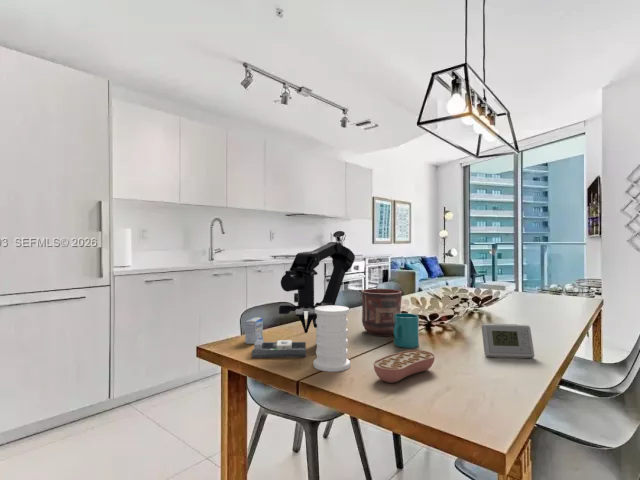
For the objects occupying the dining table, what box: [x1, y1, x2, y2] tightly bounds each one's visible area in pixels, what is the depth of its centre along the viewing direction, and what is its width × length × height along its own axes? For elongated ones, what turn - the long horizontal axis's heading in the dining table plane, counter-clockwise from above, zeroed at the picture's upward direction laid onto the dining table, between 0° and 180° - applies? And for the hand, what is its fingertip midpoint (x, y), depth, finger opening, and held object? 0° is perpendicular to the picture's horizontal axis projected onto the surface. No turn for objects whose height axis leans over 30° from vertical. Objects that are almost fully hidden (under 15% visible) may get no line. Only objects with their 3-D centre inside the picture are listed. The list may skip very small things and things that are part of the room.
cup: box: [393, 312, 420, 349], centre depth 140 cm, size 9×12×11 cm
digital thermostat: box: [481, 323, 535, 359], centre depth 128 cm, size 16×9×11 cm, turn 72°
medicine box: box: [244, 316, 264, 345], centre depth 146 cm, size 8×4×9 cm, turn 168°
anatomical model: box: [373, 349, 436, 384], centre depth 109 cm, size 23×10×5 cm, turn 131°
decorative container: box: [312, 305, 351, 373], centre depth 118 cm, size 12×12×18 cm
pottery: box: [361, 288, 403, 337], centre depth 161 cm, size 18×18×18 cm
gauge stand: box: [251, 338, 307, 359], centre depth 131 cm, size 18×10×4 cm, turn 93°
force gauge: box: [273, 339, 293, 349], centre depth 130 cm, size 6×9×2 cm
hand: (306, 332), depth 131 cm, fingers closed
